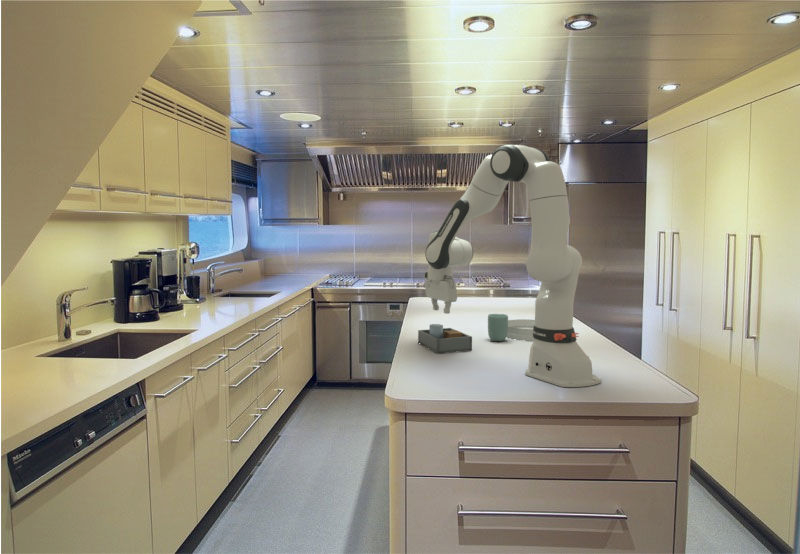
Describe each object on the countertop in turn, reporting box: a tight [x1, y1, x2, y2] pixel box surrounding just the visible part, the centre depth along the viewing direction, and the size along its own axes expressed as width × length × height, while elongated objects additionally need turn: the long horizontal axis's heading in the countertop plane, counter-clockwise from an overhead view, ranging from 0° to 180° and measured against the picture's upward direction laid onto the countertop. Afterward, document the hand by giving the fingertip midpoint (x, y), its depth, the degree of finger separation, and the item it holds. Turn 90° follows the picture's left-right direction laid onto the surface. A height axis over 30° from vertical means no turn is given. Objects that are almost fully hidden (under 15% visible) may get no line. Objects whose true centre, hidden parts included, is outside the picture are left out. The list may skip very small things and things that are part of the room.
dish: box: [506, 318, 535, 342], centre depth 215 cm, size 22×22×5 cm
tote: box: [417, 327, 473, 354], centre depth 195 cm, size 18×14×5 cm
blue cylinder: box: [428, 323, 444, 339], centre depth 196 cm, size 5×5×7 cm
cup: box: [487, 313, 509, 342], centre depth 205 cm, size 8×8×10 cm
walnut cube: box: [444, 329, 463, 338], centre depth 194 cm, size 5×5×5 cm
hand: (441, 311), depth 195 cm, fingers open, 8 cm apart
